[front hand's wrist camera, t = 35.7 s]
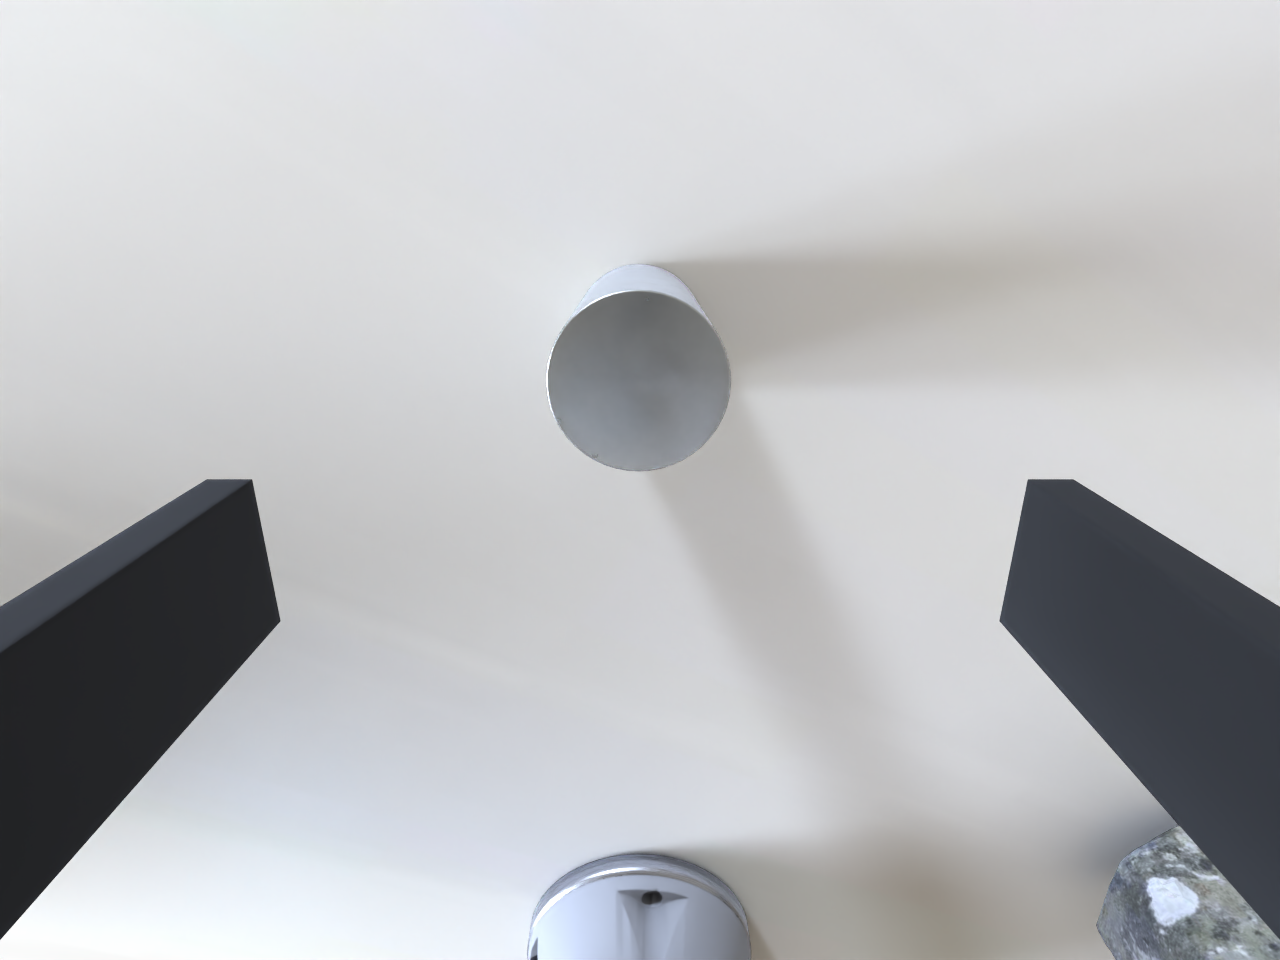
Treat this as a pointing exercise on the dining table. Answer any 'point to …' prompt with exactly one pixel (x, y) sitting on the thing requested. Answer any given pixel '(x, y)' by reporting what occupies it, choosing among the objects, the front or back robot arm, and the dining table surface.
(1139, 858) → the concrete block
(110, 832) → the dining table surface
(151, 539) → the front robot arm
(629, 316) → the canister
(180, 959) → the dining table surface
